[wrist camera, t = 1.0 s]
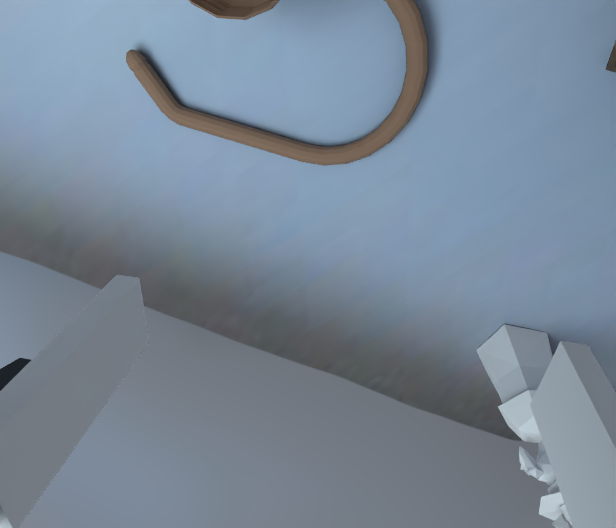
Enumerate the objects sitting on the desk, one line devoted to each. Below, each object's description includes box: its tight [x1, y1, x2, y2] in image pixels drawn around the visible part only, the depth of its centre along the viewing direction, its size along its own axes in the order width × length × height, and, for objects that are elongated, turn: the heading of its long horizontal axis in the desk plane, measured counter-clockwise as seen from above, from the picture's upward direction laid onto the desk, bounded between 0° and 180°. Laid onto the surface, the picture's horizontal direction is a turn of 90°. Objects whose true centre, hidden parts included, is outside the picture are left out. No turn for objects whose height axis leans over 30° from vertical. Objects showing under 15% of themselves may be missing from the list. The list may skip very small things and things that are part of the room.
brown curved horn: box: [126, 0, 428, 165], centre depth 31 cm, size 24×9×19 cm
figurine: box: [476, 324, 572, 528], centre depth 38 cm, size 7×8×18 cm
